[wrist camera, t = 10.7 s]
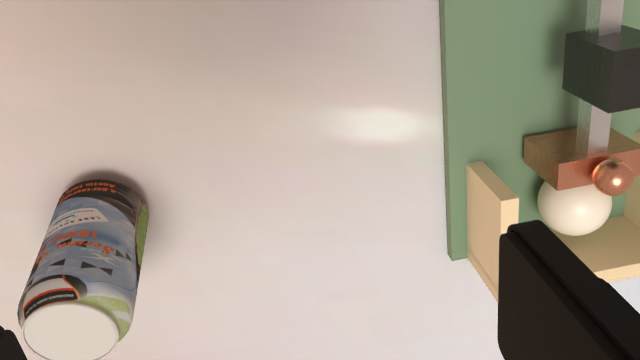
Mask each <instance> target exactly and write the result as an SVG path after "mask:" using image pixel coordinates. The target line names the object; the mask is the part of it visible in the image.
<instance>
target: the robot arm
mask: <svg viewBox="0 0 640 360" xmlns="http://www.w3.org/2000/svg"><path fill="white" fill-rule="evenodd" d="M498 344H499V348H500V351H501V353H502V355H503V357H504V359H505V360H640V314H639V313H638V312H637V311H636V310H635V309H634V308H633V307H632V306H631V305H630V304H629V303H628V302H627V301H626V300H625V299H624V298H623V297H622V296H621V295H620V294H619V293H618V292H617V291H616V290H615V289H614V288H613V287H612V286H611V285H610V284H609V283H607V282H606V281H605V280H603V279H602V278H598V277H597V276H596V275H595V274H594V273H593V272H592V271H591V270H590V269H589V268H588V267H587V266H586V265H585V264H584V263H583V262H582V261H581V260H580V259H579V258H578V257H577V256H576V255H575V254H574V253H573V252H572V251H571V250H570V249H569V248H568V247H567V246H566V245H565V244H564V243H563V242H562V241H561V240H560V239H559V238H558V237H557V236H556V235H555V234H554V233H553V232H552V231H551V230H550V229H549V228H548V227H547V226H546V225H545V224H544V223H543V222H542V221H541V220H532V221H527V222H522V223H517V224H512V225H510V226H508V229H507V233H504V234H501V235H500V238H499V282H498ZM0 360H27V358H26V356H25V354H24V352H23V350H22V348H21V346H20V344H19V342H18V340H17V338H16V336H15V334H14V333H13V332H12V331H11V330H4V329H3V327H1V326H0Z"/></svg>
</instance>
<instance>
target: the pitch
mask: <svg viewBox="0 0 640 360" xmlns="http://www.w3.org/2000/svg"><path fill="white" fill-rule="evenodd" d="M587 4H588V0H439V7H440V37H441V66H442V96H443V125H444V155H445V184H446V214H447V243H448V255H449V257H450V258H451V260H452V261H455V260H460V259H465V258H468V259H469V261H470V262H471V264H472V265H473V267H474V268H475V270H476V271H477V272H478V274H479V275H480V277H481V278H482V280H483V281H484V283H485V284H486V286H487V287H488V289H489V290H490V292H491V293H492V295H493V296H494V298H495V299H496V300H497V302H498V282H499V238H500V235H501V234H504V233H507V229H508V226H510V225H512V224H517V223H522V222H527V221H532V220H541V221H542V222H543V223H544V224H545V225H546V226H547V227H548V228H549V229H550V230H551V231H552V232H553V233H554V234H555V235H556V236H557V237H558V238H559V239H560V240H561V241H562V242H563V243H564V244H565V245H566V246H567V247H568V248H569V249H570V250H571V251H572V252H573V253H574V254H575V255H576V256H577V257H578V258H579V259H580V260H581V261H582V262H583V263H584V264H585V265H586V266H587V267H588V268H589V269H590V270H591V271H592V272H593V273H594V274H595V275H596V276H597V277H598V278H602V279H603V280H605V281H606V282H607V283H609V282H614V281H619V280H624V279H629V278H634V277H639V276H640V175H639V176H634V181H633V184H632V186H631V188H630V189H629V190H628V191H627V192H625V193H623V194H621V195H618V196H612V209H611V212H610V215H609V217H608V219H607V220H606V221H605V223H604V224H603V225H602V226H601V227H600V228H598V229H597V230H595V231H593V232H591V233H589V234H585V235H580V236H571V235H565V234H562V233H559V232H557V231H555V230H554V229H552V228H551V227H550V226H548V225H547V224H546V222H545V221H544V220H543V218H542V217H541V215H540V213H539V209H538V204H537V200H538V193H539V190H540V188H541V186H542V184H543V183H544V181H545V180H544V179H543V178H541V177H540V176H539V175H538V174H537V173H536V172H535V171H533V170H532V169H531V168H530V167H529V166H528V165H526V164H525V163H524V137H528V136H534V135H539V134H545V133H550V132H556V131H561V130H567V129H572V128H577V126H578V113H579V101H580V98H578V97H577V96H575V95H573V94H571V93H569V92H567V91H565V90H564V89H562V83H563V68H564V53H565V38H566V33H571V32H577V31H583V30H585V28H586V16H587ZM621 25H625V26H628V27H632V28H635V29H639V30H640V0H624V6H623V15H622V24H621ZM610 127H611V128H613V129H614V130H616V131H618V132H620V133H621V134H623V135H625V136H627V137H628V138H630V139H632V140H634V141H635V142H637V143H639V144H640V108H636V109H631V110H625V111H620V112H614V113H612V115H611V124H610Z"/></svg>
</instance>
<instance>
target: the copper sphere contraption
mask: <svg viewBox="0 0 640 360" xmlns="http://www.w3.org/2000/svg"><path fill="white" fill-rule="evenodd" d="M623 6H624V0H588V4H587V16H586V28H585V30H583V31H577V32H571V33H566V38H565V53H564V68H563V83H562V89H564V90H565V91H567V92H569V93H571V94H573V95H575V96H577V97H578V98H580V101H579V113H578V126H577V128H572V129H567V130H561V131H556V132H550V133H545V134H539V135H534V136H528V137H524V163H525V164H526V165H528V166H529V167H530V168H531V169H532V170H533V171H535V172H536V173H537V174H538V175H539V176H540V177H541V178H543V179H544V180H545V181H546V182H547V183H548V184H550V185H551V186H552V187H553V188H554V189H555V190H557V191H560V190H565V189H571V188H576V187H581V186H586V185H592V184H593V185H594V187H595V188H596V189H597V190H598V191H599V192H601V193H602V194H605V195H608V196H618V195H621V194H623V193H625V192H627V191H628V190H629V189H630V188H631V186H632V184H633V181H634V176H639V175H640V144H639V143H637V142H635V141H634V140H632V139H630V138H628V137H627V136H625V135H623V134H621V133H620V132H618V131H616V130H614V129H613V128H611V127H610V124H611V115H612V113H614V112H620V111H625V110H631V109H636V108H640V30H639V29H635V28H632V27H628V26H625V25H621V24H622V15H623Z"/></svg>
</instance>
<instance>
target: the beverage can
mask: <svg viewBox="0 0 640 360" xmlns="http://www.w3.org/2000/svg"><path fill="white" fill-rule="evenodd" d="M147 225H148V211H147V208H146V205H145V203H144V202H143V200H142V199H141V197H140V196H139V195H138V194H137V193H136V192H134V191H133V190H131V189H130V188H128V187H126V186H124V185H123V184H120V183H117V182H113V181H108V180H89V181H84V182H81V183H78V184H76V185H74V186H72V187H71V188H69V189H68V190H67V191H66V192H64V193H63V195H62V196H61V198H60V199H59V202H58V204H57V207H56V209H55V212H54V214H53V217H52V220H51V222H50V225H49V227H48V230H47V233H46V235H45V238H44V240H43V243H42V246H41V248H40V251H39V253H38V256H37V258H36V261H35V264H34V266H33V269H32V271H31V274H30V277H29V279H28V282H27V284H26V287H25V289H24V292H23V295H22V297H21V300H20V302H19V305H18V321H19V324H20V326H21V329H22V339H23V341H24V343H25V345H26V346H27V347H28V349H29V350H30V351H31V352H33V353H34V354H35V355H37V356H38V357H40V358H42V359H44V360H100V359H102V358H104V357H106V356H107V355H109V354H110V353H111V352H112V351H113V350H114V349H115V347H116V345H117V343H118V342H119V341H120V340H121V339H122V338H123V337H124V336H125V335H126V334H127V332H128V330H129V328H130V326H131V323H132V319H133V313H134V307H135V301H136V295H137V288H138V282H139V276H140V269H141V263H142V257H143V251H144V244H145V238H146V232H147Z"/></svg>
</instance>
